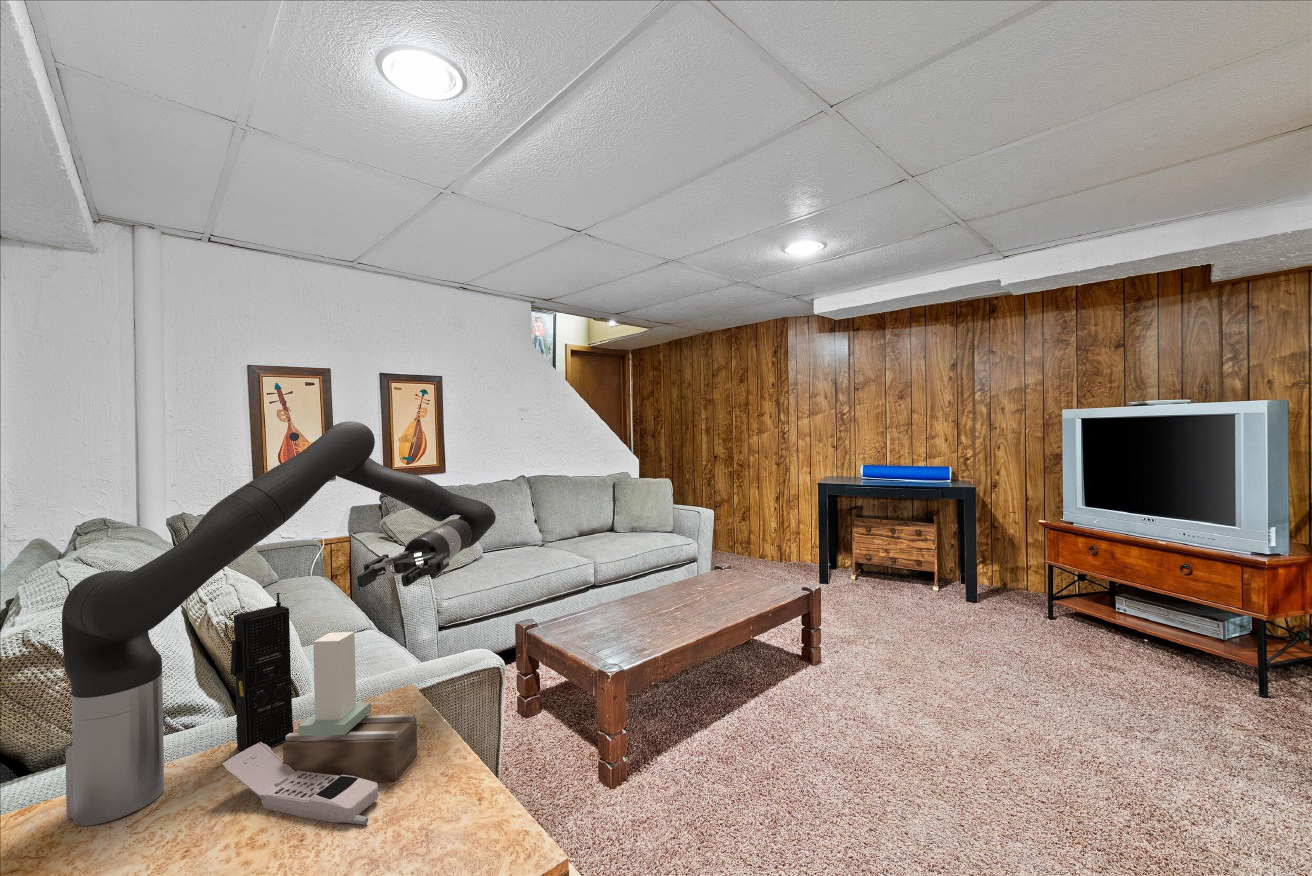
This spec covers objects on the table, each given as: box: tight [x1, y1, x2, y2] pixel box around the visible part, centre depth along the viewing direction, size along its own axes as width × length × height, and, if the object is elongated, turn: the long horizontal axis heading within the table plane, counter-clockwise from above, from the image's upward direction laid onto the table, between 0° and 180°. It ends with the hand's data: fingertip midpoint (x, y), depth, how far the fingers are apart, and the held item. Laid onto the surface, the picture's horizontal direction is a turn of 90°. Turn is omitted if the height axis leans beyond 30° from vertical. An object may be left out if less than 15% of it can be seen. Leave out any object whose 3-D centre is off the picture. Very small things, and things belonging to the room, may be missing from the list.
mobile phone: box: [221, 742, 379, 825], centre depth 75 cm, size 6×6×25 cm
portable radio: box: [229, 592, 294, 752], centre depth 91 cm, size 8×6×25 cm
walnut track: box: [282, 713, 418, 783], centre depth 83 cm, size 17×7×7 cm, turn 88°
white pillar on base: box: [298, 631, 372, 736], centre depth 83 cm, size 7×7×14 cm
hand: (381, 581), depth 92 cm, fingers open, 8 cm apart
